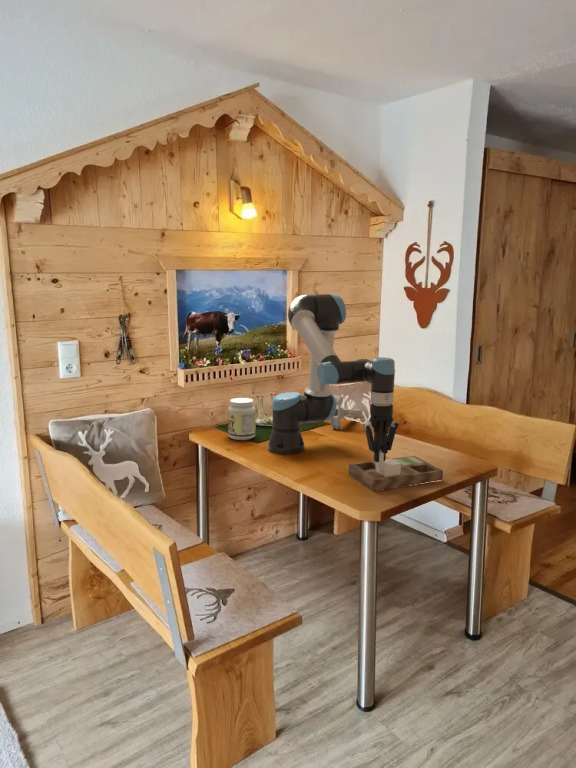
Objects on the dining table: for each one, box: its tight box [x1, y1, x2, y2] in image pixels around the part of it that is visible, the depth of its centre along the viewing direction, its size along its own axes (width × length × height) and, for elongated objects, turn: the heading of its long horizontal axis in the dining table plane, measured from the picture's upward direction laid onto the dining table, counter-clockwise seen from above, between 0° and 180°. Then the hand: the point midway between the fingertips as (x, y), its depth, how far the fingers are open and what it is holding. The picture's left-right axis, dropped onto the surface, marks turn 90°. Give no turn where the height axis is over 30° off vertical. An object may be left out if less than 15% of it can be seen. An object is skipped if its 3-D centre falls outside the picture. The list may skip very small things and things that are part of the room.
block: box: [376, 458, 401, 477], centre depth 198 cm, size 6×6×4 cm
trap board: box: [348, 455, 444, 492], centre depth 205 cm, size 28×18×4 cm, turn 112°
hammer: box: [330, 395, 363, 431], centre depth 279 cm, size 16×5×30 cm
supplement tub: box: [227, 397, 256, 441], centre depth 255 cm, size 12×12×17 cm
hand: (379, 470), depth 197 cm, fingers closed
